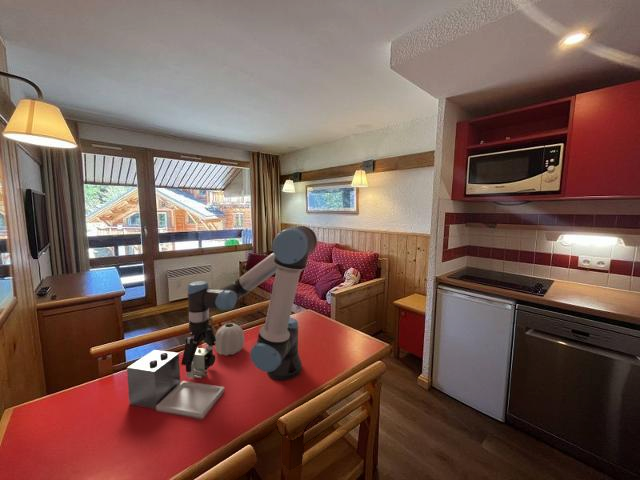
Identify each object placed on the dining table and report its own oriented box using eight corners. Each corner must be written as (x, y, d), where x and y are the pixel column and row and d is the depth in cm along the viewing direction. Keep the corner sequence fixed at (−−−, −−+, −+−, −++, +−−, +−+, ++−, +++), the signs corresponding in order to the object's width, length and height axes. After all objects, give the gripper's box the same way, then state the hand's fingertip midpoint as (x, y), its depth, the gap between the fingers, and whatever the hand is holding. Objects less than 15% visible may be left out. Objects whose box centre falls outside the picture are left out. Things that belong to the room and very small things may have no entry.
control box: (180, 386, 104) (178, 350, 102) (156, 409, 92) (154, 368, 91) (155, 382, 106) (152, 347, 104) (128, 404, 94) (125, 364, 93)
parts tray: (224, 391, 102) (224, 386, 102) (202, 419, 88) (202, 413, 88) (183, 385, 105) (183, 380, 105) (156, 411, 92) (156, 405, 91)
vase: (248, 353, 129) (248, 327, 127) (218, 362, 121) (217, 334, 120) (239, 341, 140) (239, 317, 139) (211, 348, 132) (210, 323, 131)
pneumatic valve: (209, 381, 108) (208, 353, 106) (184, 377, 110) (183, 350, 108) (217, 373, 113) (216, 346, 112) (193, 369, 115) (192, 343, 114)
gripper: (208, 307, 121) (209, 352, 124) (168, 331, 97) (171, 386, 100) (223, 309, 120) (224, 353, 122) (187, 334, 96) (189, 389, 98)
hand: (200, 368), depth 111 cm, fingers open, 12 cm apart
